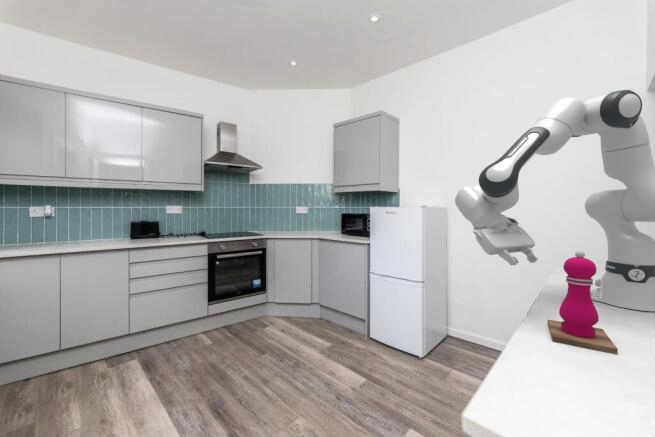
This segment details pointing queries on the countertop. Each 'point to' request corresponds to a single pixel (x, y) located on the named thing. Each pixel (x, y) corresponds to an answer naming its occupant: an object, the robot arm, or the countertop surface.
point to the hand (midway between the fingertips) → (525, 262)
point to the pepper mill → (579, 298)
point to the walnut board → (582, 339)
